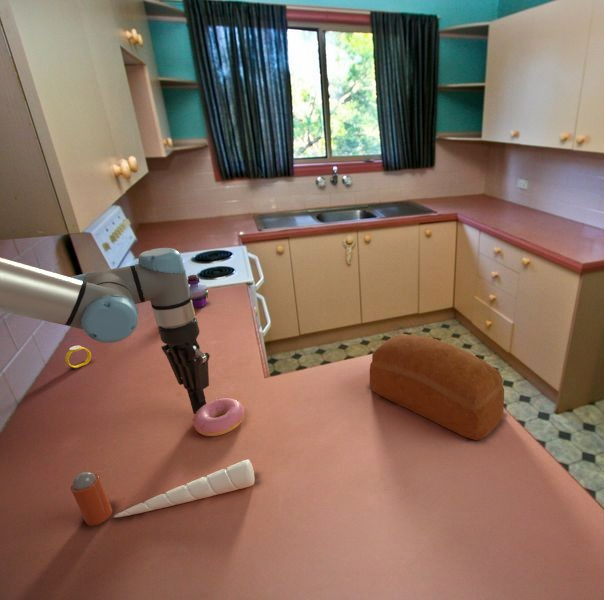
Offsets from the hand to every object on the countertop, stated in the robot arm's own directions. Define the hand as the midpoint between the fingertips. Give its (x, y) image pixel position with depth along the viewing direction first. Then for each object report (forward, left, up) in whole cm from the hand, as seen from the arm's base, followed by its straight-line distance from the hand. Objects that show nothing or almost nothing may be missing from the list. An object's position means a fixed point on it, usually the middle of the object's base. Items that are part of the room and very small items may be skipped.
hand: (200, 411), depth 100 cm
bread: (+47, +29, -2) cm, 55 cm away
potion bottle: (-56, +44, -2) cm, 71 cm away
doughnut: (+6, 0, -2) cm, 6 cm away
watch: (-51, 0, -2) cm, 51 cm away
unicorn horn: (+19, -17, -2) cm, 25 cm away
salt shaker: (+7, -27, -1) cm, 28 cm away
